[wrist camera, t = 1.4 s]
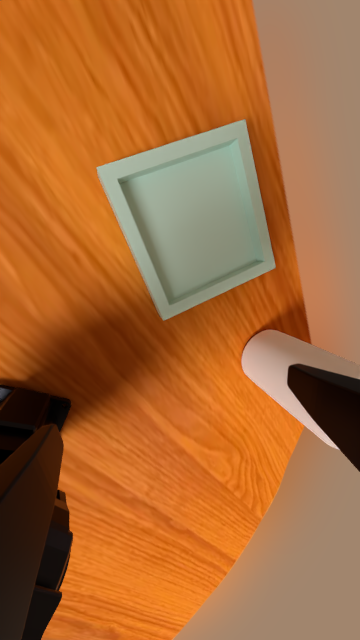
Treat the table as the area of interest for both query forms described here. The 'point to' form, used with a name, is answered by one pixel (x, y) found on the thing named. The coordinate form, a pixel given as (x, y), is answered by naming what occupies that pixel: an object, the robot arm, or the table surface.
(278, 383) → the can
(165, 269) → the tray
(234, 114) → the table surface
